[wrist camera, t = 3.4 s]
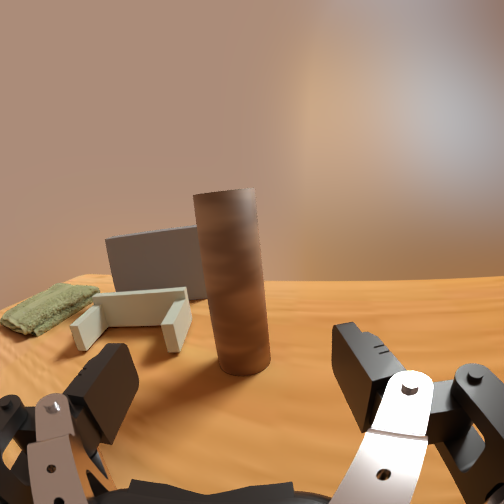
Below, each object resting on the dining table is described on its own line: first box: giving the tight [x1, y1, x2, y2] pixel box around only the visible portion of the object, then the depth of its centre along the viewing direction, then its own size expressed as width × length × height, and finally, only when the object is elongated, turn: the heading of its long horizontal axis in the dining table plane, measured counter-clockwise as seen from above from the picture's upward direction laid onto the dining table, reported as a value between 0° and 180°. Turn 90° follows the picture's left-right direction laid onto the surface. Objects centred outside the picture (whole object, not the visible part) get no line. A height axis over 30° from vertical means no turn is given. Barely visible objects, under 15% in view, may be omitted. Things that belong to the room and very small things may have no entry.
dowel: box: [193, 188, 271, 376], centre depth 21 cm, size 4×4×14 cm
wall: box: [105, 225, 207, 300], centre depth 38 cm, size 14×2×10 cm, turn 92°
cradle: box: [70, 287, 192, 352], centre depth 27 cm, size 12×7×4 cm, turn 92°
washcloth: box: [0, 283, 100, 337], centre depth 35 cm, size 13×18×3 cm
